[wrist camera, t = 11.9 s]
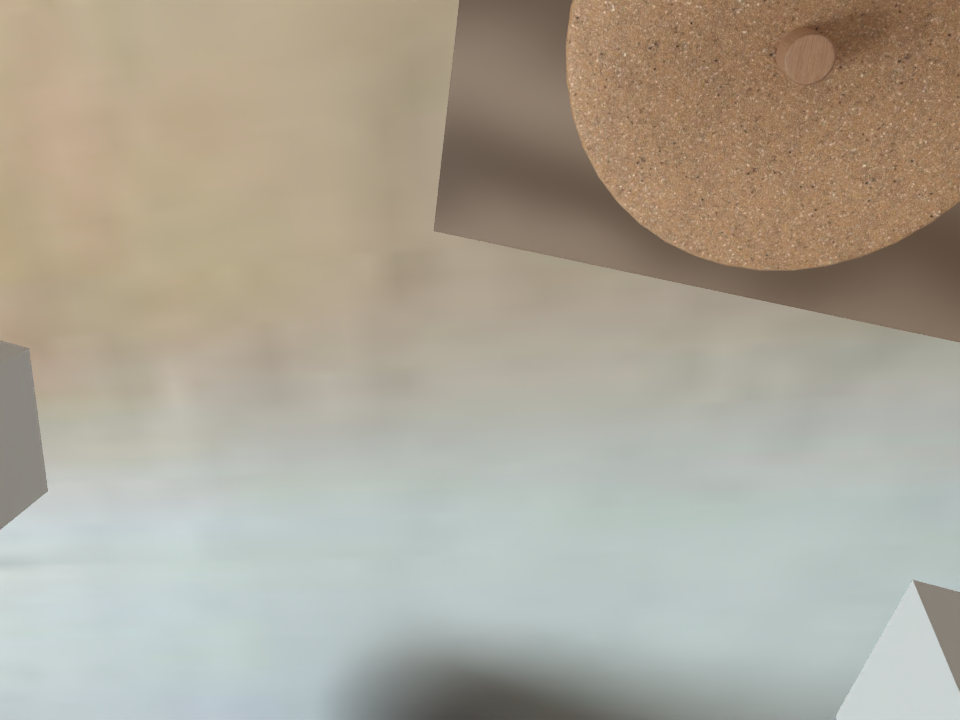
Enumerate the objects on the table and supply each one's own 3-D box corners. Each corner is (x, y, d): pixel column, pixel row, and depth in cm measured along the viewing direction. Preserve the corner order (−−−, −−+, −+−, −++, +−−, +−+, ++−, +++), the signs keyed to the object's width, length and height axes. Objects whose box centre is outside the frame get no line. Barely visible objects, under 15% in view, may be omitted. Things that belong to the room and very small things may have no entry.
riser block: (940, 302, 31) (1005, 385, 24) (459, 203, 33) (410, 256, 27) (1209, -267, 22) (1413, -355, 16) (527, -338, 24) (478, -438, 18)
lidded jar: (1009, -185, 21) (1225, -283, 12) (905, 205, 26) (1011, 318, 17) (608, -173, 23) (569, -249, 15) (583, 185, 28) (544, 277, 20)
